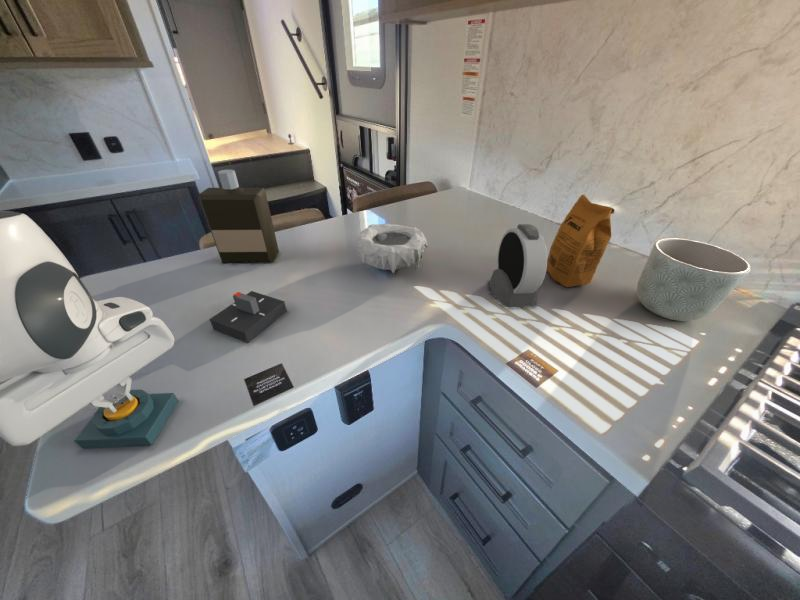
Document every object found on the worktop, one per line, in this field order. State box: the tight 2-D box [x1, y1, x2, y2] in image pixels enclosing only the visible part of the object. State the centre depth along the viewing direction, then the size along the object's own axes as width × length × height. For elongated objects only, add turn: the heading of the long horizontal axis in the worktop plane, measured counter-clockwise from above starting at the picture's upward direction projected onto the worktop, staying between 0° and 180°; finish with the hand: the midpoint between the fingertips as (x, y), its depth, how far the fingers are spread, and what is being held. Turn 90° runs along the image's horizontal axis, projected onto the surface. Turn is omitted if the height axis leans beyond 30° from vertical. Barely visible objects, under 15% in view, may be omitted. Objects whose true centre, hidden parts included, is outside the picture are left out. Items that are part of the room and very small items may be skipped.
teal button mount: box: [73, 389, 179, 449], centre depth 49 cm, size 10×8×4 cm
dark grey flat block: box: [209, 290, 288, 344], centre depth 71 cm, size 12×10×3 cm
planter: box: [636, 237, 752, 322], centre depth 74 cm, size 17×17×15 cm
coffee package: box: [546, 194, 615, 288], centre depth 84 cm, size 10×12×22 cm
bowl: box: [356, 223, 429, 274], centre depth 91 cm, size 21×20×10 cm
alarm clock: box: [489, 223, 548, 308], centre depth 78 cm, size 16×10×18 cm, turn 6°
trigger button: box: [104, 396, 140, 421], centre depth 48 cm, size 4×4×2 cm
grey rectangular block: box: [232, 291, 259, 314], centre depth 69 cm, size 5×2×4 cm, turn 66°
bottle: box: [198, 169, 280, 264], centre depth 89 cm, size 8×16×25 cm, turn 93°
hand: (121, 405), depth 48 cm, fingers closed, pressing on trigger button
